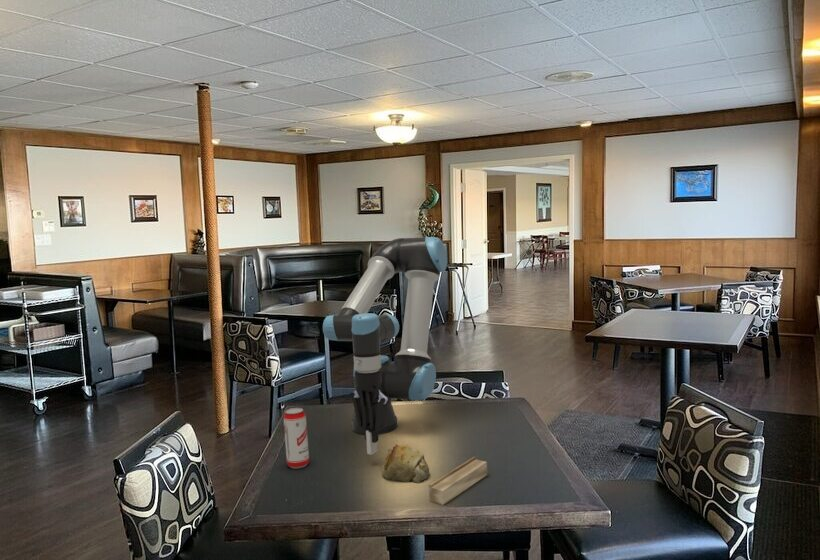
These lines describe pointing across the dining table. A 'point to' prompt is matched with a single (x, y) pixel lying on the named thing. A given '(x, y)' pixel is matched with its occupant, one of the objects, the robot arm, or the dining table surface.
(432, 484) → the wooden block
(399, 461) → the pastry
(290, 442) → the beer can
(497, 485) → the dining table surface
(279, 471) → the dining table surface
